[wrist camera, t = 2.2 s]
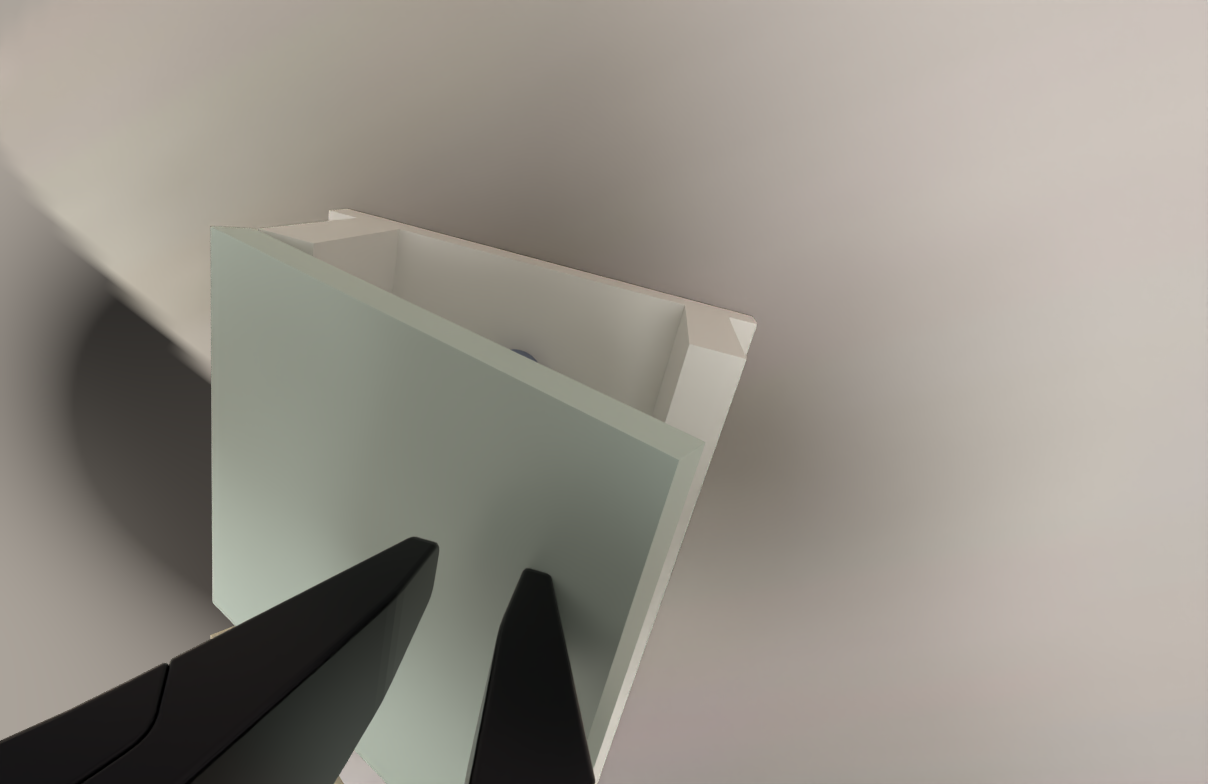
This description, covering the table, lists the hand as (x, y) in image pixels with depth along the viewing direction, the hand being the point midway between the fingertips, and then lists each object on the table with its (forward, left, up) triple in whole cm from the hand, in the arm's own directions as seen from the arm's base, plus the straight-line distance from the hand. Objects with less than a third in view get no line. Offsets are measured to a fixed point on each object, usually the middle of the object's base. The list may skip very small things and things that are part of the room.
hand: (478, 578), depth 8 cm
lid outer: (-2, +2, -2) cm, 4 cm away
